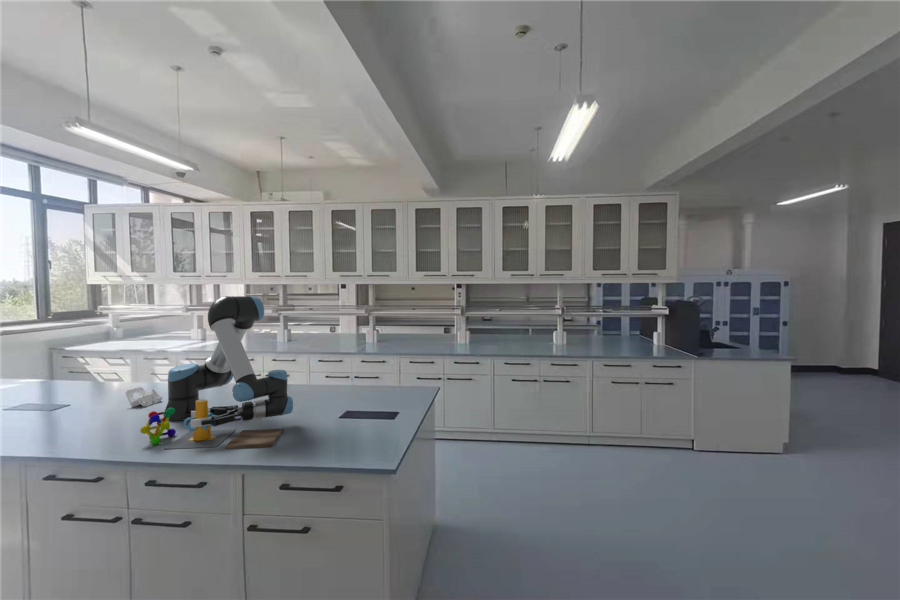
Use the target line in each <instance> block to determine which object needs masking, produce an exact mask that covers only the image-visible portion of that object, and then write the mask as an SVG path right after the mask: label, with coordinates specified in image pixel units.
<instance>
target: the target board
mask: <svg viewBox="0 0 900 600" xmlns="http://www.w3.org/2000/svg"><path fill="white" fill-rule="evenodd" d="M282 433H284V428H267V429H266V428H264V429H262V428H261V429H259V428H258V429H242V430H241V431H240V432H238V433H237V434H236V435H235V436H234V437H233V438H232V439H231V440H230V441H229V442H228V443H226V444H225V449H229V450H230V449H250V448H271V447H272V446H273V445H274V443H275V442H276V441H277V440H278V439H279V437H281V434H282Z"/></svg>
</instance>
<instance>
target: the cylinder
mask: <svg viewBox="0 0 900 600" xmlns="http://www.w3.org/2000/svg"><path fill="white" fill-rule="evenodd" d="M208 403H209V399H206V398H202V399H200V398H199V400H197V401H196V418H187V419H186V420H183V426H184V428H185V429H188V431H193V440H195V441H202V440H206V439H209V438H210V437H211V430H212V427H214V426H213V425H206V426H199V427H193V428H191V420H195V419H202V418H209V417H211V416H210V415H212V416H214V417H217V416H218V415H214V414H213V413H209V414H208V409H209V405H208ZM189 420H190V422H189V423H188V425H187V422H188V421H189Z"/></svg>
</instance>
